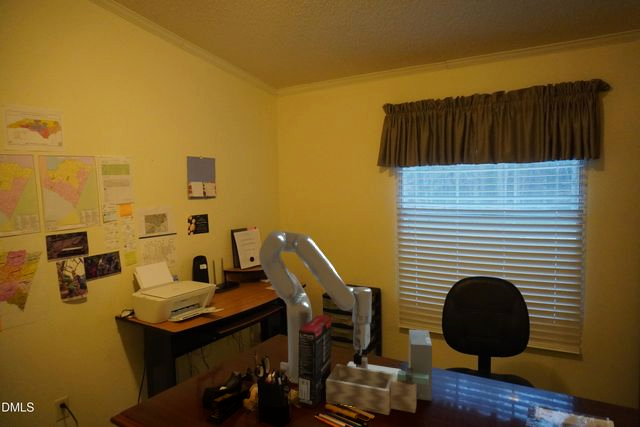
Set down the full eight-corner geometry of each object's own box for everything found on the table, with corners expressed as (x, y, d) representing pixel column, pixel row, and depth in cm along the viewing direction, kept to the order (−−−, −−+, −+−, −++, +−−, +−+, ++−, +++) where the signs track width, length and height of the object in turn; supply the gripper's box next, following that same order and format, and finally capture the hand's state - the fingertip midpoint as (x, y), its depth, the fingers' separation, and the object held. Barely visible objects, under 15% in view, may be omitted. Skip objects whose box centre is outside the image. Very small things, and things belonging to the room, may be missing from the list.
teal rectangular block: (397, 379, 123) (397, 374, 123) (398, 375, 126) (398, 370, 126) (427, 384, 120) (427, 379, 120) (428, 380, 123) (428, 374, 123)
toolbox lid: (340, 379, 145) (340, 363, 145) (349, 364, 157) (349, 350, 157) (396, 388, 137) (396, 371, 137) (401, 372, 149) (401, 357, 149)
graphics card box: (315, 382, 141) (315, 313, 140) (332, 385, 139) (332, 315, 138) (297, 406, 125) (296, 329, 124) (316, 410, 123) (315, 331, 122)
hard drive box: (432, 401, 127) (432, 346, 126) (409, 399, 129) (409, 344, 128) (428, 379, 143) (428, 329, 142) (408, 377, 144) (408, 328, 143)
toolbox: (326, 402, 128) (325, 367, 127) (337, 384, 140) (337, 352, 139) (413, 419, 117) (413, 381, 117) (417, 398, 129) (417, 363, 129)
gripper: (365, 326, 138) (364, 370, 139) (375, 313, 154) (374, 352, 155) (346, 323, 141) (345, 366, 141) (358, 310, 157) (357, 349, 158)
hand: (360, 359), depth 148 cm, fingers open, 9 cm apart
